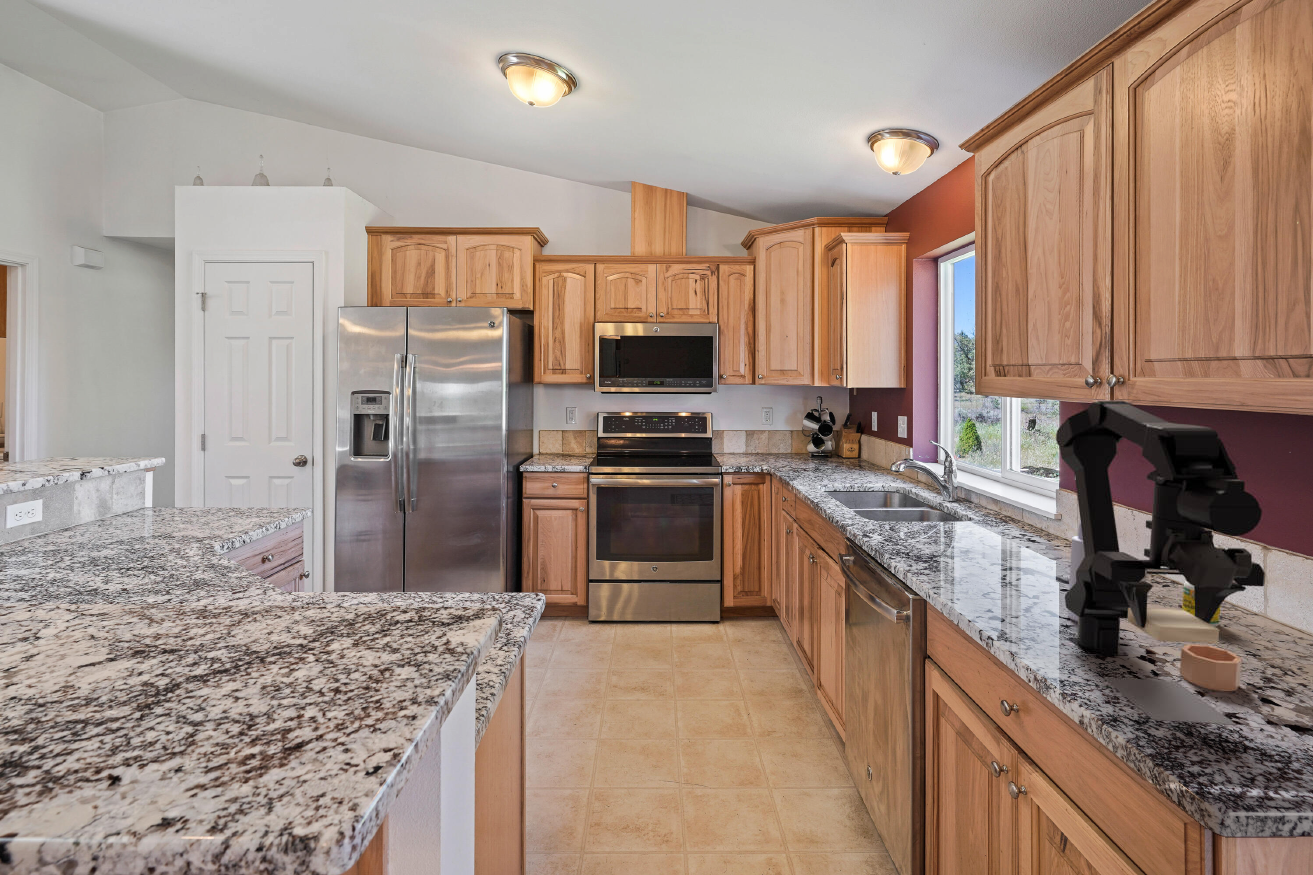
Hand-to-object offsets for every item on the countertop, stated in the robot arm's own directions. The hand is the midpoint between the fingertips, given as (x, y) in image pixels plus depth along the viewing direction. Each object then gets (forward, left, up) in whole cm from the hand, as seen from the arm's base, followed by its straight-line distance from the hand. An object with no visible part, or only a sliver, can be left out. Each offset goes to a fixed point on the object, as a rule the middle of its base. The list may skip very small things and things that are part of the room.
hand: (1170, 628), depth 90 cm
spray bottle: (-32, +5, -11) cm, 34 cm away
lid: (0, 0, 0) cm, 0 cm away
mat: (0, 0, -11) cm, 11 cm away
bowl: (-7, +10, -11) cm, 16 cm away
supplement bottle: (-33, +25, -11) cm, 43 cm away
